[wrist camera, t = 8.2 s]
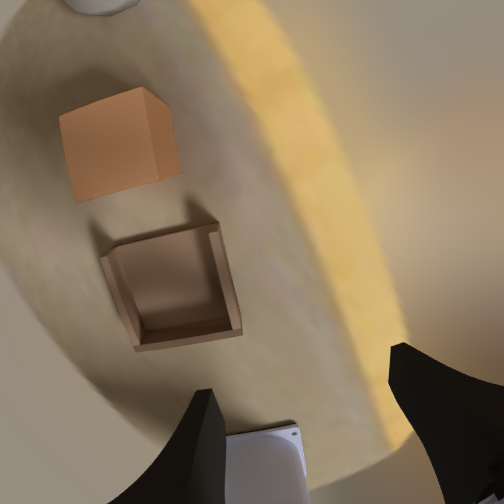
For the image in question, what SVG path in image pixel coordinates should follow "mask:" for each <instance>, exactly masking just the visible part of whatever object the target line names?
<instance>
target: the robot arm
mask: <svg viewBox="0 0 504 504" xmlns="http://www.w3.org/2000/svg"><path fill="white" fill-rule="evenodd" d="M388 383H389V386H390V388H391V390H392V393H393V395H394V397H395V399H396V401H397V403H398V405H399V406H400V408H401V409H402V411H403V413H404V414H405V416H406V417H407V419H408V421H409V422H410V424H411V425H412V427H413V428H414V430H415V431H416V433H417V435H418V436H419V438H420V440H421V442H422V443H423V445H424V447H425V449H426V452H427V454H428V456H429V459H430V461H431V463H432V466H433V468H434V471H435V473H436V476H437V478H438V481H439V484H440V487H441V490H442V494H443V497H444V500H445V504H504V386H501V385H497V384H492V383H489V382H485V381H482V380H479V379H476V378H473V377H470V376H468V375H466V374H463V373H461V372H459V371H457V370H454V369H452V368H450V367H448V366H446V365H444V364H442V363H440V362H438V361H437V360H435V359H433V358H431V357H429V356H428V355H426V354H424V353H422V352H421V351H419V350H417V349H415V348H414V347H412V346H410V345H408V344H406V343H404V342H403V343H400V344H397V345H394V346H391V353H390V367H389V380H388ZM306 475H307V472H306V465H305V459H304V453H303V446H302V440H301V434H300V428H299V426H298V425H297V424H292V425H288V426H283V427H278V428H273V429H267V430H262V431H256V432H250V433H244V434H237V435H230V436H226V430H225V421H224V419H223V416H222V414H221V411H220V409H219V406H218V404H217V401H216V398H215V396H214V393H213V390H212V388H211V389H204V390H197V391H196V392H195V393H194V396H193V398H192V400H191V402H190V404H189V406H188V408H187V410H186V412H185V414H184V416H183V418H182V419H181V421H180V423H179V425H178V427H177V428H176V430H175V432H174V433H173V435H172V436H171V438H170V440H169V441H168V443H167V444H166V446H165V447H164V449H163V450H162V451H161V453H160V454H159V455H158V457H157V458H156V459H155V460H154V462H153V463H152V464H151V465H150V466H149V468H148V469H147V470H146V471H145V472H144V473H143V474H142V475H141V476H140V477H139V478H138V479H137V480H136V481H135V482H134V483H133V484H132V485H131V486H130V487H128V488H127V489H126V490H125V491H124V492H123V493H121V494H120V495H119V496H118V497H116V498H115V499H114V500H112V501H111V502H109V503H108V504H311V501H310V497H309V492H308V488H307V484H306V479H305V476H306Z"/></svg>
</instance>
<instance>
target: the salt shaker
mask: <svg viewBox="0 0 504 504" xmlns="http://www.w3.org/2000/svg"><path fill="white" fill-rule="evenodd" d="M64 2H65V3H66V4H67V5H68V6H69V7H71V8H72V9H73V10H75V11H76V12H78V13H80V14H88V15H97V16H112V15H115V14H117V13H119V12H121V11H123V10H126V9H128V8H130V7H133V6H135V5H137V4H138V2H139V0H64Z"/></svg>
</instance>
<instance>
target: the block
mask: <svg viewBox="0 0 504 504" xmlns="http://www.w3.org/2000/svg"><path fill="white" fill-rule="evenodd" d="M59 123H60V130H61V136H62V142H63V148H64V153H65V159H66V164H67V169H68V174H69V179H70V183H71V188H72V192H73V196H74V200H75V204H77V203H80V202H84V201H87V200H90V199H94V198H97V197H100V196H104V195H107V194H111V193H115V192H118V191H122V190H125V189H129V188H133V187H137V186H141V185H145V184H149V183H152V182H157V181H160V180H163V179H165V178H168V177H170V176H173V175H175V174H178V173H180V172H182V170H181V165H180V160H179V155H178V150H177V145H176V140H175V135H174V129H173V124H172V119H171V113H170V108H169V106H168V105H167V104H165V103H164V102H163V101H161V100H160V99H158V98H157V97H156V96H154V95H153V94H152V93H150V92H149V91H148V90H146V89H145V88H144V87H139V88H136V89H132V90H129V91H126V92H123V93H120V94H117V95H114V96H111V97H108V98H105V99H102V100H99V101H97V102H94V103H91V104H89V105H86V106H83V107H81V108H78V109H76V110H73V111H71V112H68V113H66V114H64V115H61V116H59Z"/></svg>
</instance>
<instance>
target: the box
mask: <svg viewBox="0 0 504 504" xmlns="http://www.w3.org/2000/svg"><path fill="white" fill-rule="evenodd" d="M100 260H101V263H102V266H103V269H104V272H105V275H106V278H107V281H108V284H109V287H110V289H111V292H112V295H113V297H114V300H115V303H116V305H117V308H118V311H119V313H120V316H121V318H122V321H123V323H124V326H125V328H126V330H127V333H128V335H129V338H130V340H131V342H132V345H133V347H134V349H135V351H136V352H142V351H150V350H157V349H164V348H171V347H178V346H184V345H190V344H196V343H202V342H208V341H214V340H220V339H225V338H231V337H236V336H241V335H243V330H242V318H241V314H240V309H239V305H238V301H237V297H236V293H235V289H234V284H233V280H232V276H231V272H230V268H229V263H228V259H227V255H226V250H225V246H224V242H223V237H222V233H221V228H220V224H219V222H218V223H214V224H209V225H204V226H200V227H195V228H191V229H186V230H182V231H177V232H173V233H169V234H164V235H160V236H155V237H151V238H147V239H143V240H138V241H134V242H130V243H126V244H122V245H118V246H114V247H112V248H110V249H109V250H108V251H107V252H106V253H105V254H104V255H102V256H101V257H100Z"/></svg>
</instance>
